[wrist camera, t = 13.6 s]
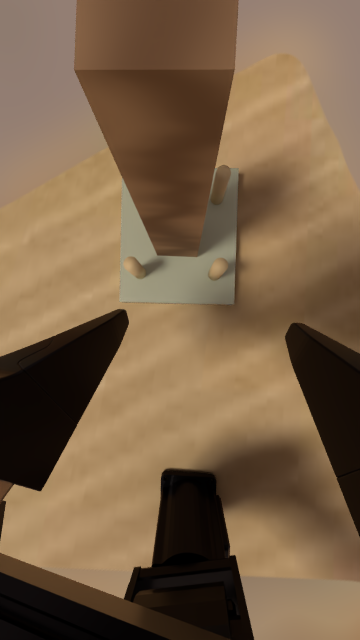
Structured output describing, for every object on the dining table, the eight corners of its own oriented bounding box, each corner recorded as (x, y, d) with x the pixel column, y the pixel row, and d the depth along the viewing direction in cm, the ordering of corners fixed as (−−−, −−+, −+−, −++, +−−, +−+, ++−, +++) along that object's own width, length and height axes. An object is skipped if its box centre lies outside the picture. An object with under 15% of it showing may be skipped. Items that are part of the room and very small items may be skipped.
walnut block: (157, 255, 17) (74, 69, 4) (159, 215, 17) (80, -96, 4) (197, 257, 17) (234, 69, 4) (199, 216, 17) (244, -103, 4)
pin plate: (123, 302, 19) (106, 298, 15) (125, 176, 18) (109, 137, 14) (231, 305, 18) (244, 301, 14) (235, 176, 18) (250, 135, 14)
